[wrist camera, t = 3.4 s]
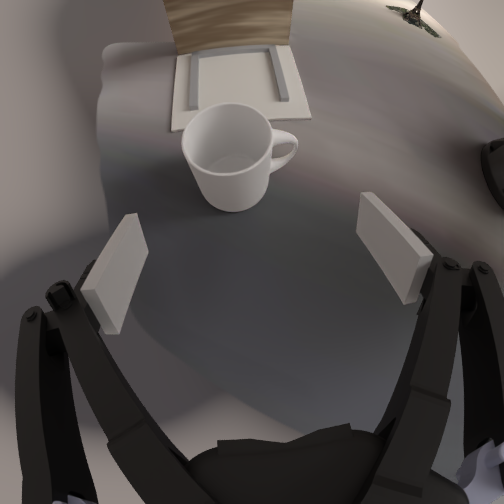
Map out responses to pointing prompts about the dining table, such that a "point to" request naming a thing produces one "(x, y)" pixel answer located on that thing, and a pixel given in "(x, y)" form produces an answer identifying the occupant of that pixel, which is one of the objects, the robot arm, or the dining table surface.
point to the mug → (233, 154)
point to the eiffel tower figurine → (414, 17)
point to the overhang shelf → (228, 23)
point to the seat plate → (239, 82)
